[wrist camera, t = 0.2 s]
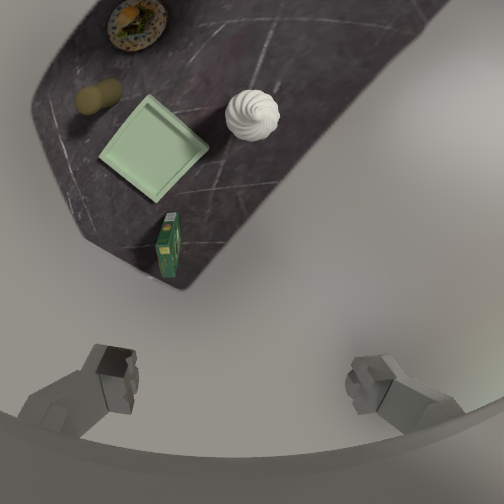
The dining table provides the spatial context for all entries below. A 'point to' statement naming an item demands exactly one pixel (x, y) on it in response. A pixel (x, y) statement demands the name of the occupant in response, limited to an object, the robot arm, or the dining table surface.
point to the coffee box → (169, 245)
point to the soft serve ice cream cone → (252, 115)
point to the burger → (136, 24)
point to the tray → (153, 149)
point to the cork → (98, 96)
